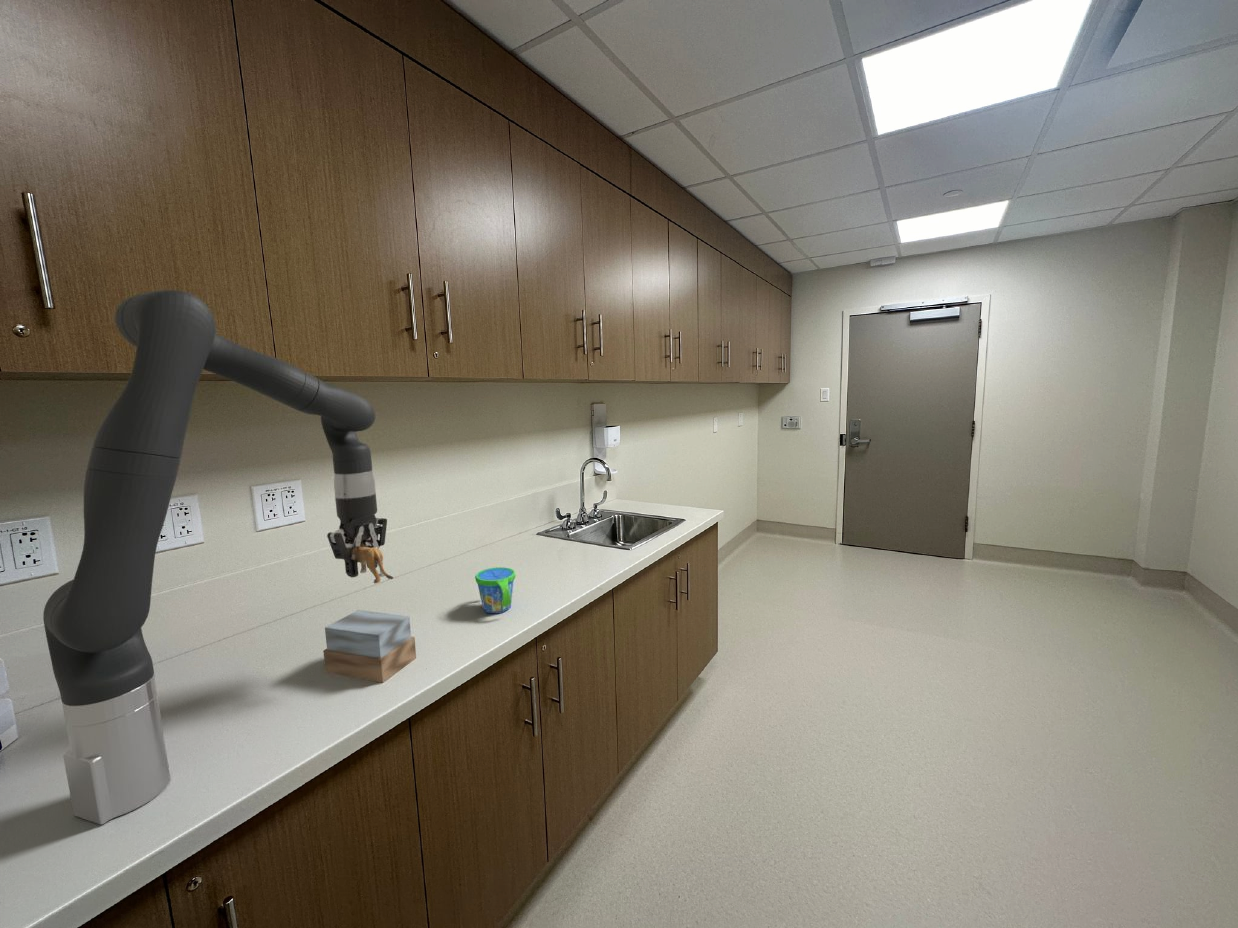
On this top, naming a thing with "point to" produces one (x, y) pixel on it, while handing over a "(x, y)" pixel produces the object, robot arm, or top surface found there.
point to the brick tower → (369, 645)
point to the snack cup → (496, 588)
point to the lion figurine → (370, 561)
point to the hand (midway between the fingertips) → (363, 571)
